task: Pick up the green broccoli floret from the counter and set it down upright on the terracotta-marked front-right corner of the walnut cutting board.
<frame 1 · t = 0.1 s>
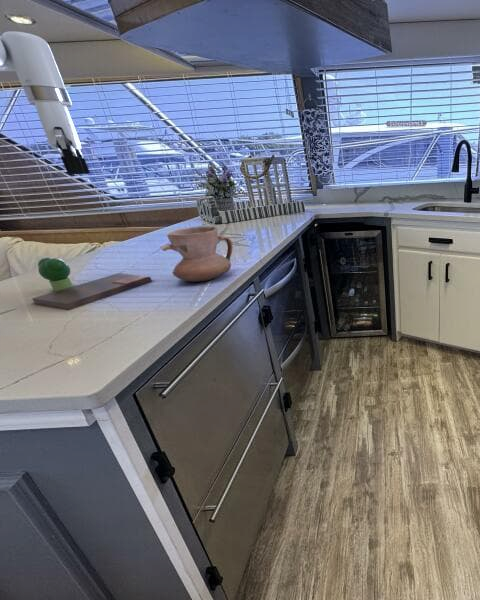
hand: (79, 174, 84), 30 cm above the worktop, tool pointing down, fingers open, 9 cm apart
cutting board: (97, 291, 87), on the worktop
broccoli: (64, 289, 91), on the worktop
ceramic jug: (208, 277, 96), on the worktop
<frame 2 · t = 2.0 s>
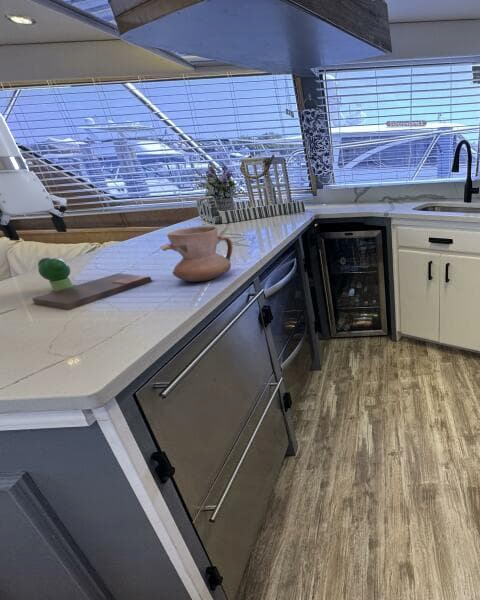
hand: (39, 235, 85), 15 cm above the worktop, tool pointing down, fingers open, 9 cm apart
nothing on the worktop moved.
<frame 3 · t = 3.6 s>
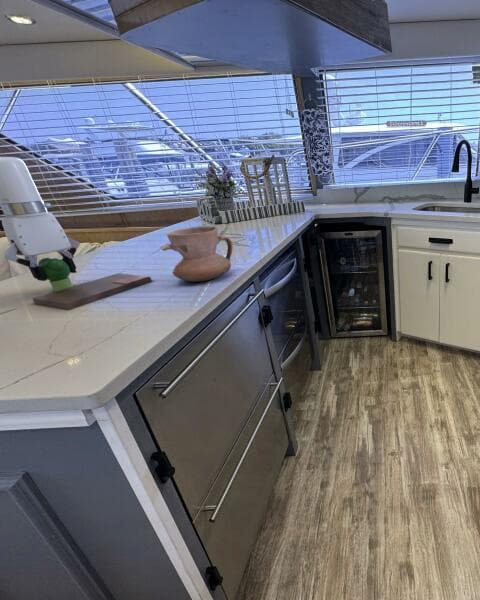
hand: (57, 275, 89), 4 cm above the worktop, tool pointing down, fingers closed on broccoli, 5 cm apart
broccoli: (64, 289, 91), on the worktop, touching gripper
everything else where it was.
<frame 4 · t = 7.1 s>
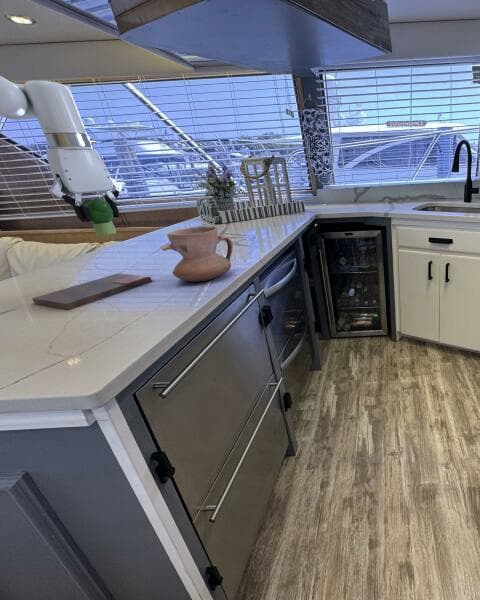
hand: (100, 218, 84), 19 cm above the worktop, tool pointing down, fingers closed on broccoli, 5 cm apart
broccoli: (107, 233, 86), point 15 cm above the worktop, touching gripper
everything else where it was.
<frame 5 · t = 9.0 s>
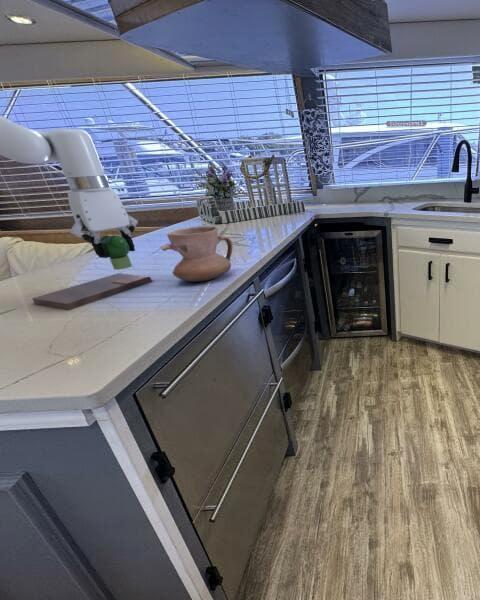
hand: (117, 253, 88), 9 cm above the worktop, tool pointing down, fingers closed on broccoli, 5 cm apart
broccoli: (123, 267, 89), point 5 cm above the worktop, touching gripper
everything else where it was.
when the fingers open (6 cm above the worktop, at t = 10.4 s): broccoli stays where it is, resting on cutting board.
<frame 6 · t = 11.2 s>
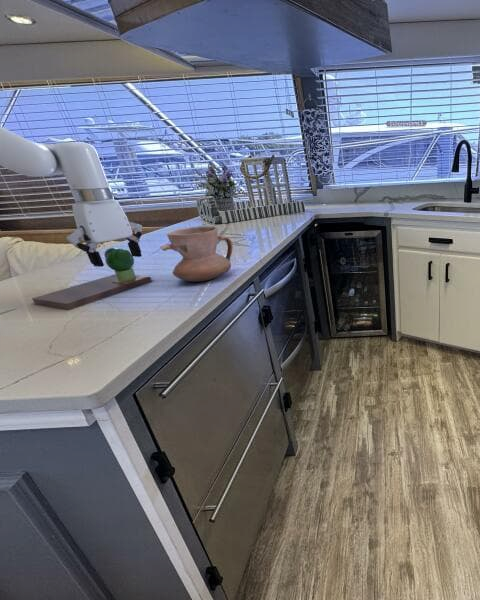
hand: (119, 261, 88), 7 cm above the worktop, tool pointing down, fingers open, 9 cm apart
broccoli: (127, 279, 91), point 2 cm above the worktop, touching cutting board
everything else where it was.
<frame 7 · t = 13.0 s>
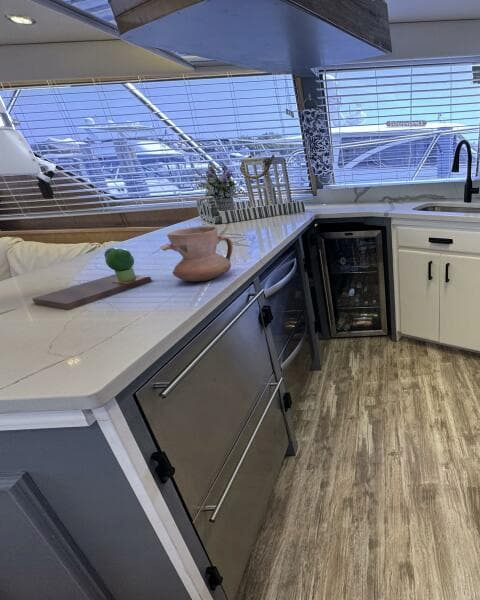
hand: (23, 200, 80), 24 cm above the worktop, tool pointing down, fingers open, 9 cm apart
nothing on the worktop moved.
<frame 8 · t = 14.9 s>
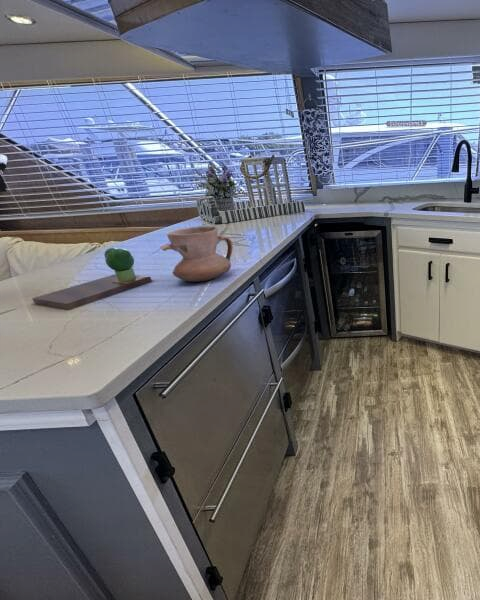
nothing on the worktop moved.
at the end: broccoli 0.5 cm from the target spot on the cutting board, point 1.7 cm above the cutting board's base; broccoli tilted 0°; the gripper is holding nothing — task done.
